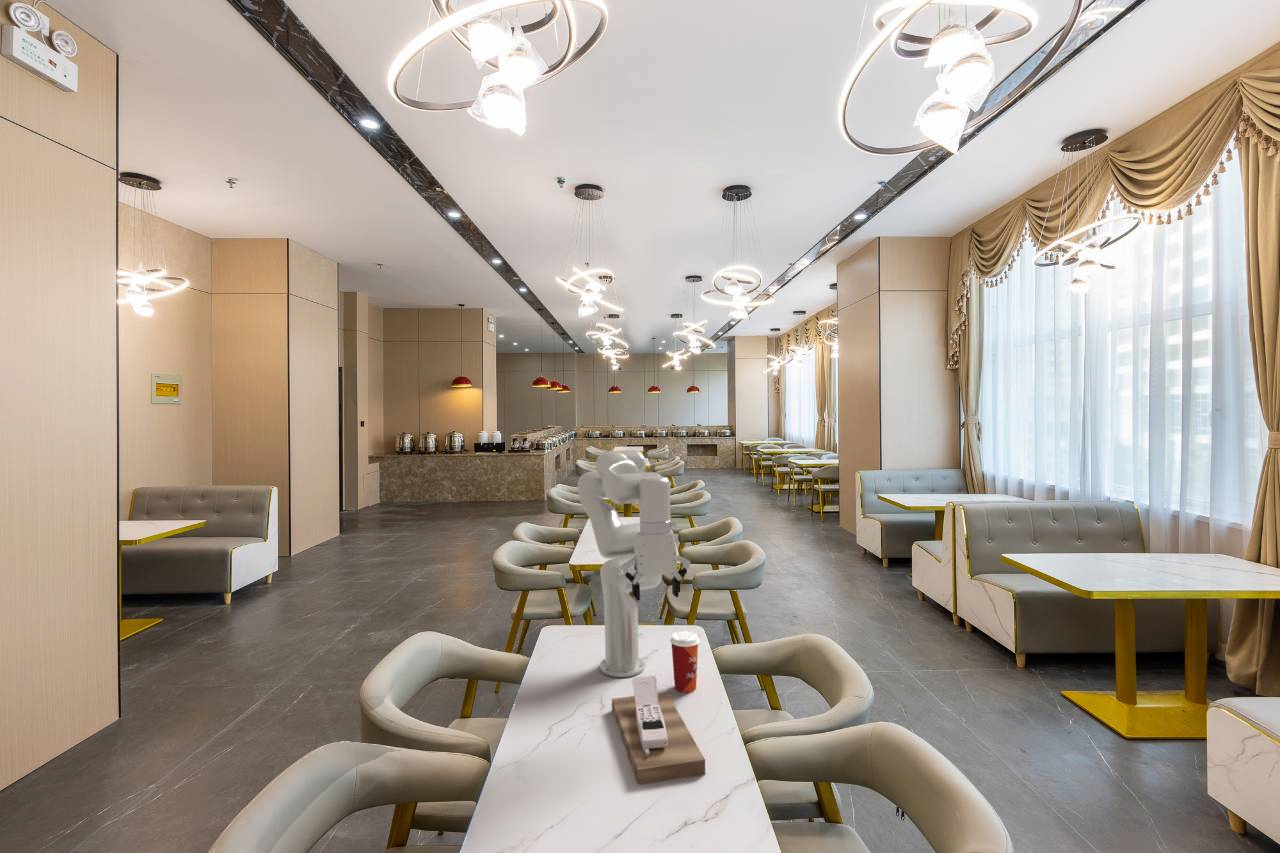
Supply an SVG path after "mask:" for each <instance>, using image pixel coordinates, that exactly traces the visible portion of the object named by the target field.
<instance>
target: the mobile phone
mask: <svg viewBox="0 0 1280 853" xmlns="http://www.w3.org/2000/svg"><path fill="white" fill-rule="evenodd" d="M631 677H632V680H631V681H632V687H633V694H634V695H633V696H635V704H636V720H637V726H638V731H639V736H640V740H641V743H642V748H643V749H644V752H645V755H646V756H649V749H650V748H662V747H667V745H668V738H667V731H666V727H665V723H664V719H663V715H662V712H661V709H660V706H659V702H658V694H657V693H658V687H657V683H658V681H657V678H656V675H645V676H644V675H642V676H641V675H640V676H635V677H633V676H631Z"/></svg>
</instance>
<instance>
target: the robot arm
mask: <svg viewBox="0 0 1280 853" xmlns="http://www.w3.org/2000/svg"><path fill="white" fill-rule="evenodd" d="M646 464H647V463H646V458H645V457H644V455H643V453H642V452H641V451H638V450H636V449H628V450H627V449H625V450H624V449H623V450H609V451H605V452H603V453H601V454H600V455H598V457H597V458H596V460H595V469H596V470H593V471H588V472H585V473H583V474H581V475H580V477H579V479H578V480H577V493H578V494H577V495H578V496H579V497H578V498H579V501H580V505H581V506H582V508H583V509H584V512H585V513H586V515H587V517H588V519H589V520H590V523H591V527H592V531H593V535H594V538H595V539H594V540H595V541H596V545H597V549H598V551H599V552H598V553H599V554H600V556H602V557H603V558H605V559H608V560H606V561H605V562H604V563H603V564H602V565H601V567H600V572H599V574H600V575H599V576H600V583H601V587H602V592H603V593H602V594H603V603H604V604H603V607H604V609H603V610H604V612H603V613H604V648H605V649H604V652H605V658H604V659H602V661H601V662H600V664H599V669H600V672H601V673H603V674H604V675H606V676H609V677H612V678H613V677H614V678H629V677H633V676H637V675H639V674H640V673H641V672H643V671H644V669H645V662H644V660H642V659H641V657H639V609H638V604H637V602H638V601H640V600H641V594H640V593H641V591H642V590H648V589H654V588H656V587H658V586H659V585H661V581H662V575H672V576H673V577H672V579H671V580H672V582H671V584H672V585H671V588H672V589H671V590H672V592H671V593H672V595H673V596H674V597H675V598H679V596H680V594H679V593H681V580H682V579H683V578H684V576H685V575H686V574H687V573H688V570H689V568H690V565H691V564H692V562H691V561H690V560H689V559H687V558H685V557H683V556H680V555H678V554H677V552H678V551H677V546H676V538H675V533H674V532H673V530H672V529H673V528H677V522H676V521H672V519H671V518H672V517H671V515H672V513H671V482H670V480H669V478H667V477H666V476H662V475H661V474H659V473H657V472H655V471H654V472H653V471H652V472H646V467H647V466H646ZM604 499H609V500H610V501H611V502H613V503H614V504H618V505H628V504H639V506H638V507H639V523H631V524H623V523H622V522H621V520H620V517H619V513H618V511H617V510H616V509H615V508H614V507H613V506H612V505H611V504H610V503H608V502H607V501H605V500H604ZM678 562H679V563H681V564H682V565H681V568H680V569H679V570H678ZM630 593H631V594H632V596H631V595H630ZM633 597H634V598H633ZM635 600H636V601H637V602H636V601H635Z"/></svg>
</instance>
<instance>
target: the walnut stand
mask: <svg viewBox="0 0 1280 853" xmlns="http://www.w3.org/2000/svg"><path fill="white" fill-rule="evenodd" d="M657 694H658V702H659V706H660V709H661V712H662V715H663V719H664V723H665V727H666V731H667V738H668V745H667V747H662V748H650V749H649V756H646V755H645V752H644V749H643V748H642V743H641V740H640V736H639V731H638V726H637V720H636V704H635V696H634V695H631V696H622V697H615V698H611V712H612V714H613V717H614V720H615V722H616V726H617V729H618V731H619V734H620V738H621V740H622V742H623V745H624V749H625V752H626V754H627V755H626V756H627V757H628V760H629V763H630V766H631V768H632V772H633V774H634V777H635V780H636V783H637V785H645V784H650V783H657V782H663V781H669V780H676V779H683V778H689V777H696V776H702V774H703V775H706V759H705V757H704V755H703V753H702V752H701V750H700V748H699V747H698V745H697V743H696V741H695V739H694V737H693V736H692V734H691V732H690V731H689V729H688V727H687V725H686V724H685V722H684V720H683V719H682V716H681V715H680V713H679V711H678V710H677V707H676V706H675V704H674V703H673V701H672V699H671V697H670V695H669V693H668V692H667V691H663V692H657Z"/></svg>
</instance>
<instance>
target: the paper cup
mask: <svg viewBox="0 0 1280 853" xmlns="http://www.w3.org/2000/svg"><path fill="white" fill-rule="evenodd" d="M669 642H670V644H671V654H672V656H671V657H672V668H673V680H674V681H673V682H674V689H675V691H676V692H679V693H683V694H684V693H685V694H689V693H693V692H694V691H696V689H697V677H698V676H697V675H698V657H699V656H698V655H699V643H700V639H699V637H698V634H697V633H695V632H692V631H687V630H686V631H676V632H674V633H673V634H672V635H671V638H670V641H669Z"/></svg>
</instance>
